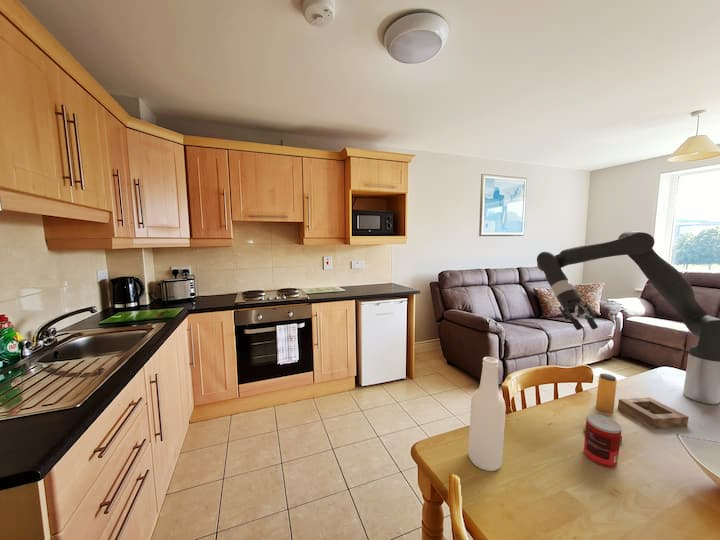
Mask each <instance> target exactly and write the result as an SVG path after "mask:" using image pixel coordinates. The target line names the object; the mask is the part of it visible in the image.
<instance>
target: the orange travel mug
mask: <svg viewBox="0 0 720 540" xmlns="http://www.w3.org/2000/svg"><path fill="white" fill-rule="evenodd" d="M617 382H618V379H617V378H616V376H614V375H611V374H610V373H600V374H599V375H598V381H597V384H598V385H597V391H596V392H597V393H596V399H595V400H596V401H595V407H596V409H598V410H599V411H601V412H604V413H608V414H609V413H611V414H613V413H614V409H615V406H614V405H615V399H616V393H617V392H616V389H617Z"/></svg>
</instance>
